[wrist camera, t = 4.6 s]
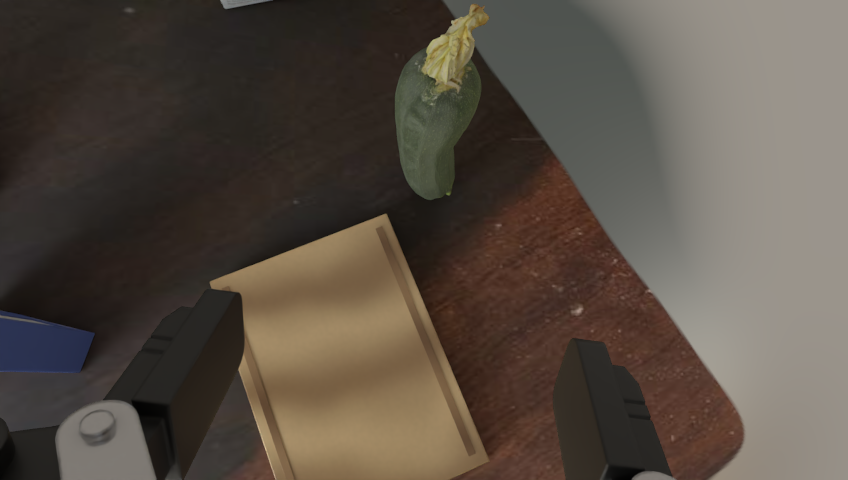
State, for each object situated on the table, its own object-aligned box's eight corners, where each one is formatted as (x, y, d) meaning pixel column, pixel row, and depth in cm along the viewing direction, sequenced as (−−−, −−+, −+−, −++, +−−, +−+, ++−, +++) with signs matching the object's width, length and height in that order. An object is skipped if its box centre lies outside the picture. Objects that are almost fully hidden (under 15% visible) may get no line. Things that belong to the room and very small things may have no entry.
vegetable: (398, 212, 41) (396, 64, 22) (394, 157, 42) (388, -30, 23) (458, 208, 41) (507, 59, 22) (452, 154, 43) (495, -34, 23)
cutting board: (215, 285, 39) (208, 281, 38) (386, 218, 41) (386, 212, 40) (302, 542, 36) (298, 549, 34) (486, 458, 37) (490, 461, 36)
